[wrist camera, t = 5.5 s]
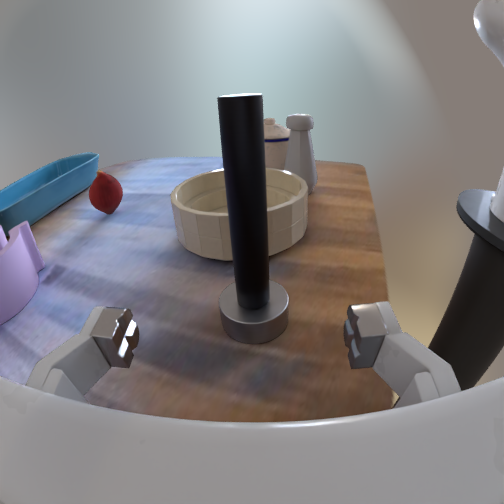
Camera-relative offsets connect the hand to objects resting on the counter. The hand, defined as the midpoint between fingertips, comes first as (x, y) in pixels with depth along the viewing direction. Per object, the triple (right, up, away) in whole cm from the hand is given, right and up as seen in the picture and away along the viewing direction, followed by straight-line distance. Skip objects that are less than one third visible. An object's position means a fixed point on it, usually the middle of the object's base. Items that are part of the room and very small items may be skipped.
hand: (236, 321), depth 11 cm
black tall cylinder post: (+1, -3, +14) cm, 15 cm away
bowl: (-1, +5, +28) cm, 29 cm away
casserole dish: (-48, +13, +45) cm, 67 cm away
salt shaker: (+9, +13, +39) cm, 41 cm away
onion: (-23, +9, +36) cm, 44 cm away
